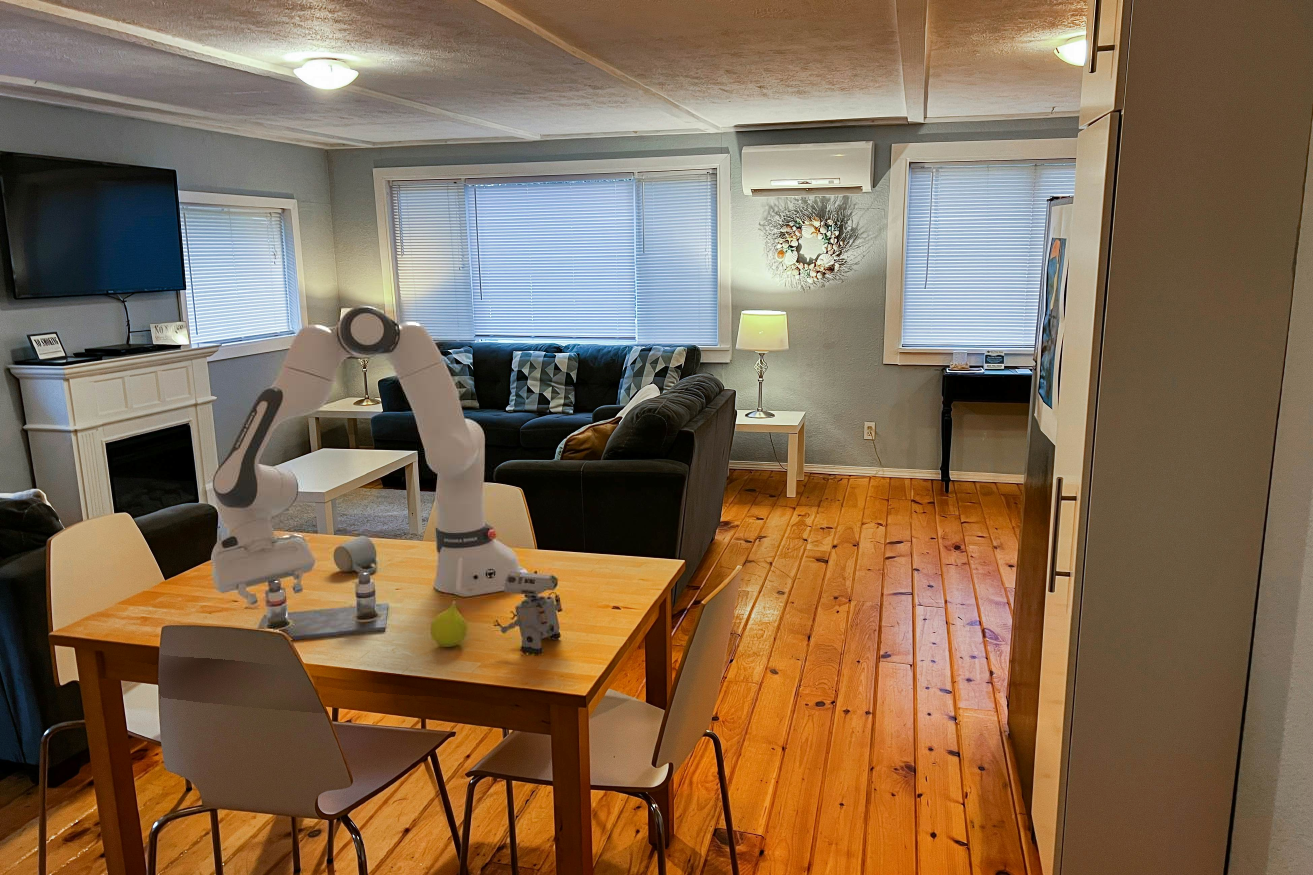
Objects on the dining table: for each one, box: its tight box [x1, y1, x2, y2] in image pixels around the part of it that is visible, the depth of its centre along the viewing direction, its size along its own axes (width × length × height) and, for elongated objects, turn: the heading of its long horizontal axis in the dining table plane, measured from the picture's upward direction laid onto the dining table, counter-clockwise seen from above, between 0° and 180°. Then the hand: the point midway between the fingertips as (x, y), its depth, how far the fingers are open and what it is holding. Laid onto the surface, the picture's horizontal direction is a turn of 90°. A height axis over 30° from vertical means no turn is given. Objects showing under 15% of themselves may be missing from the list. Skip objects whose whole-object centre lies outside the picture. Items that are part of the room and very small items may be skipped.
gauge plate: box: [256, 602, 389, 642], centre depth 198 cm, size 26×14×1 cm, turn 103°
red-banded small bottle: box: [264, 579, 289, 628], centre depth 195 cm, size 4×4×10 cm
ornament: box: [430, 600, 468, 648], centre depth 185 cm, size 7×7×10 cm
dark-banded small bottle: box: [354, 572, 377, 619], centre depth 199 cm, size 4×4×10 cm
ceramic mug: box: [333, 535, 379, 575], centre depth 232 cm, size 11×8×8 cm
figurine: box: [493, 570, 563, 656], centre depth 185 cm, size 9×12×15 cm
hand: (276, 597), depth 194 cm, fingers open, 8 cm apart
